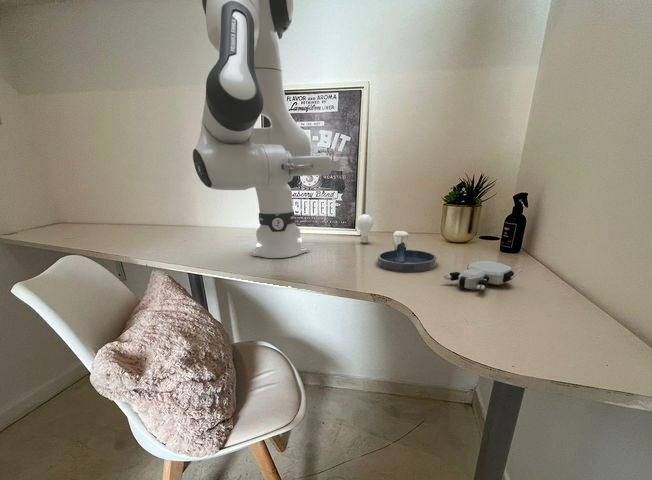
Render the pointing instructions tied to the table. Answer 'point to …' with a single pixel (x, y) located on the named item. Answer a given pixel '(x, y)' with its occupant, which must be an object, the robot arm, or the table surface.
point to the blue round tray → (408, 261)
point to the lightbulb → (364, 226)
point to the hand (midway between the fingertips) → (328, 165)
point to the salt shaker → (400, 245)
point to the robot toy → (482, 275)
